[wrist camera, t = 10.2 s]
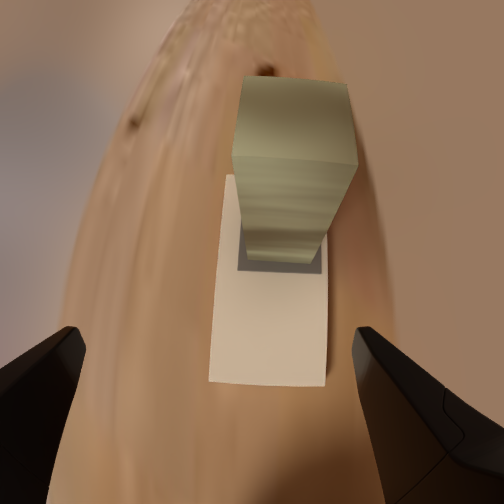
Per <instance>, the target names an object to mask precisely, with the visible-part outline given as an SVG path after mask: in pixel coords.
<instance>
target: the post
mask: <svg viewBox="0 0 504 504" xmlns="http://www.w3.org/2000/svg"><path fill="white" fill-rule="evenodd" d="M231 157H232V163H233V169H234V176H235V182H236V188H237V195H238V201H239V207H240V214H241V220H242V226H243V232H244V239H245V245H246V251H247V257H248V260H260V261H275V262H290V263H305V264H311V262H312V260H313V258H314V256H315V254H316V252H317V250H318V248H319V246H320V244H321V242H322V240H323V239H324V237H325V235H326V233H327V231H328V229H329V227H330V225H331V222H332V220H333V218H334V216H335V214H336V212H337V210H338V208H339V206H340V204H341V202H342V200H343V198H344V196H345V194H346V192H347V189H348V187H349V185H350V183H351V181H352V179H353V177H354V174H355V172H356V170H357V168H358V166H359V164H358V155H357V147H356V139H355V132H354V125H353V118H352V112H351V105H350V99H349V94H348V88H347V84H343V83H335V82H327V81H319V80H309V79H298V78H284V77H266V76H244V78H243V84H242V90H241V96H240V103H239V109H238V115H237V122H236V128H235V135H234V141H233V148H232V155H231Z"/></svg>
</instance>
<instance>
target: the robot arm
mask: <svg viewBox="0 0 504 504" xmlns="http://www.w3.org/2000/svg"><path fill="white" fill-rule="evenodd" d="M85 353H86V345H85V343H84V340H83V338H82V336H81V334H80V331H79V329H78V328H77V327H72V326H66V327H64V328H63V329H61V330H60V331H58V332H56V333H55V334H53V335H52V336H50V337H49V338H47V339H45V340H44V341H42V342H41V343H39V344H38V345H36V346H35V347H33V348H31V349H30V350H28V351H27V352H25V353H24V354H22V355H20V356H19V357H17V358H16V359H14V360H13V361H11V362H10V363H8V364H7V365H5V366H4V367H2V368H1V369H0V504H46V500H47V495H48V490H49V487H48V486H49V485H50V480H51V476H52V472H53V468H54V463H55V459H56V456H57V452H58V448H59V444H60V441H61V437H62V434H63V430H64V427H65V423H66V420H67V417H68V414H69V410H70V407H71V404H72V401H73V398H74V395H75V392H76V389H77V385H78V381H79V377H80V373H81V369H82V365H83V361H84V357H85ZM352 357H353V363H354V369H355V375H356V381H357V388H358V394H359V398H360V402H361V406H362V409H363V413H364V417H365V420H366V424H367V428H368V431H369V435H370V439H371V443H372V447H373V451H374V455H375V459H376V463H377V467H378V471H379V476H380V480H381V484H382V489H383V493H384V498H385V502H386V504H504V428H503V427H501V426H500V425H498V424H497V423H495V422H494V421H492V420H491V419H489V418H488V417H486V416H484V415H483V414H481V413H480V412H478V411H477V410H475V409H474V408H473V407H471V406H469V405H468V404H467V403H465V402H464V401H463V400H462V399H460V398H459V397H458V396H456V395H455V394H454V393H452V392H451V391H450V390H449V389H448V388H445V386H444V385H442V384H441V383H440V382H439V381H438V380H436V379H435V378H434V377H432V376H431V375H430V374H429V373H428V372H426V371H425V370H424V369H423V368H421V367H420V366H419V365H418V364H416V363H415V362H414V361H413V360H411V359H410V358H409V357H408V356H406V355H405V354H404V353H403V352H401V351H400V350H399V349H398V348H396V347H395V346H394V345H393V344H391V343H390V342H389V341H388V340H386V339H385V338H384V337H383V336H381V335H380V334H379V333H378V332H376V331H375V330H374V329H373V328H371V327H369V326H366V327H358V328H357V329H356V331H355V335H354V340H353V345H352Z"/></svg>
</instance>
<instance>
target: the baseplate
mask: <svg viewBox="0 0 504 504" xmlns="http://www.w3.org/2000/svg"><path fill="white" fill-rule="evenodd" d="M327 321H328V255H327V233H326V235H325V237H324V239H323V240H322V242H321V244H320V246H319V248H318V250H317V252H316V254H315V256H314V258H313V260H312V262H311V264H305V263H290V262H275V261H260V260H248V257H247V251H246V245H245V239H244V232H243V226H242V220H241V214H240V207H239V201H238V195H237V188H236V182H235V176H234V175H226V184H225V193H224V202H223V211H222V221H221V231H220V242H219V252H218V263H217V274H216V286H215V298H214V311H213V324H212V338H211V352H210V368H209V381H210V382H221V383H233V384H248V385H268V386H325V377H326V355H327Z"/></svg>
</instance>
